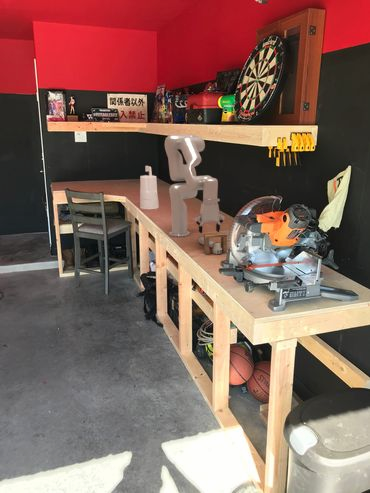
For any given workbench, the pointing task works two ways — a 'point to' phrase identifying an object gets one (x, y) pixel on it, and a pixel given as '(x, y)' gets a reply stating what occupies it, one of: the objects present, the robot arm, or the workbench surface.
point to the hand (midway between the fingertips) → (209, 232)
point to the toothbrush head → (212, 245)
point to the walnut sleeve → (214, 235)
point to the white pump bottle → (148, 191)
